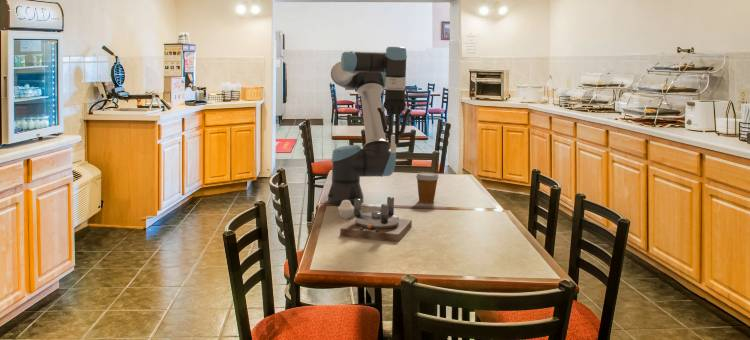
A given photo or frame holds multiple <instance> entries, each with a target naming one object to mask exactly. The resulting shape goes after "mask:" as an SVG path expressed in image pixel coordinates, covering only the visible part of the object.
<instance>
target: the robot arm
mask: <svg viewBox="0 0 750 340" xmlns="http://www.w3.org/2000/svg"><path fill="white" fill-rule="evenodd" d="M407 58H408V55H407V48H406V47H404V46H387V47H386V48H385V52H370V51H368V52H367V51H366V52H365V51H351V50H350V51H344V52H342V53H341V58H340V61H338V62H336V63H335V64H333V66H332V68H331V70H330V77H331V80H332V82H334V83H335V84H336V85H338V86H339V87H341V88H344V89H355V90H356V93H357V94H358V96H360V98H361V109H362V114H363V116H362V117H363V118H362V119H363V126H364V134H365V137H364V138H365V144H363V146H362V148H361V145H359V144H355V145H353V144H348V145H343V146H339V147H336V148H334V149H333V150H332V155H331V162H332V163H331V185H330V187H329V191H328V192H327V193H328V194H327V203H329V204H332V205H339V206H340V205H341V202H342V201H343V200H349V201H350V202H351V204H352V206H354V199H361V204H363V203H364V200H365V199H364V194H363V191H362V187H361V183H360V181H361V178H362V177H367V178H369V177H371V178H372V177H381V178H382V177H389V176H391V175H392V174H394V170H395V168H396V167H395V166H396V163H397V161H396V160H397V144H399V143H400V135H402V134H404V133H405V131H406V127H407V124H408V123H407V122H408V120H409V116H410V114H411V112H412V111H413V110H412V108H409V107H408V106H407V103H406V90H405V89H406V83H407V82H406V77H407V76H406V74H407V72H406V71H407ZM383 92H384V101H383V102H382V98H381V94H382V93H383ZM382 103H383V105H382ZM385 111H386V112H387V113H388V123H387V117H386V114H385ZM403 111H404V114H403V118H402V123H401V114H402V112H403ZM394 117H395V118H394ZM394 121H395V122H394ZM386 134H387V135H388V136H387V137H388V141H387V137H386Z"/></svg>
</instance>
